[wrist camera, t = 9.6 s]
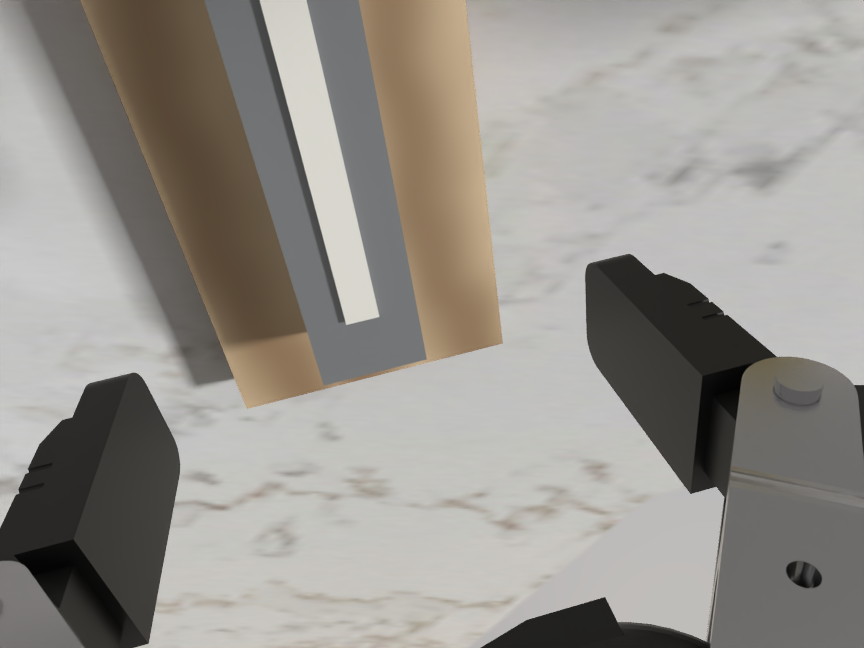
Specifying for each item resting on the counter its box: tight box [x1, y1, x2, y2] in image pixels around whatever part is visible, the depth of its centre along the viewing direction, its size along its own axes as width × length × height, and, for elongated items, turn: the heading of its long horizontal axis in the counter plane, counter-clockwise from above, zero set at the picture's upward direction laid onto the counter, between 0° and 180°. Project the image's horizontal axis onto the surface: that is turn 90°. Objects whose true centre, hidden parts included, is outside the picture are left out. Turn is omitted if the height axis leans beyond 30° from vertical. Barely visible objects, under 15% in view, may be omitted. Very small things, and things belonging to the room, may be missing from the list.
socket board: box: [80, 0, 503, 409], centre depth 24 cm, size 12×22×2 cm, turn 9°
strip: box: [204, 0, 427, 385], centre depth 22 cm, size 4×16×7 cm, turn 9°
